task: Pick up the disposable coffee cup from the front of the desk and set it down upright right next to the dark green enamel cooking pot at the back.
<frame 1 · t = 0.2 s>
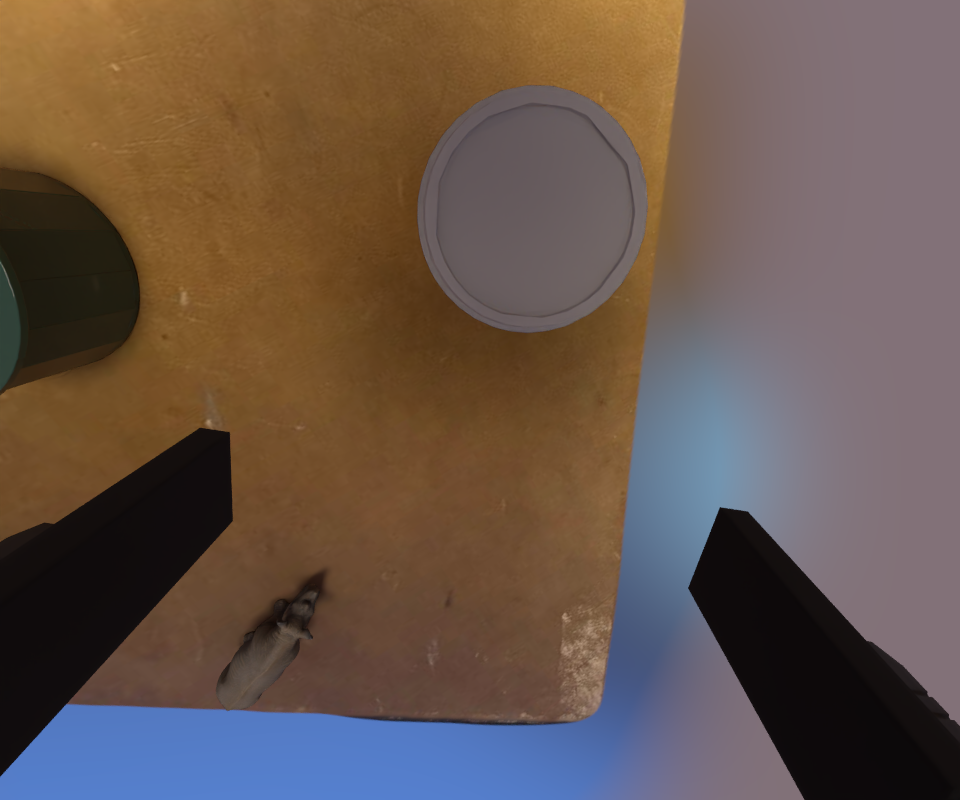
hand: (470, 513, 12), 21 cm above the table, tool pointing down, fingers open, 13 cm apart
disposable coffee cup: (517, 224, 29), on the table
pot: (45, 273, 31), on the table
rhino figurine: (291, 613, 41), on the table
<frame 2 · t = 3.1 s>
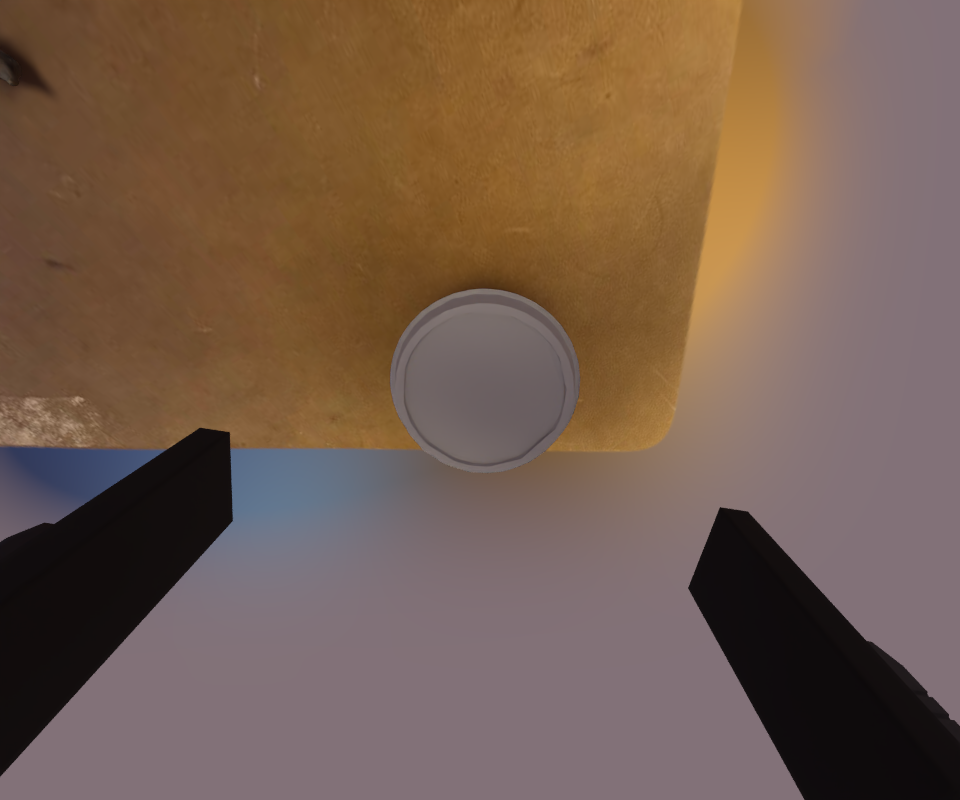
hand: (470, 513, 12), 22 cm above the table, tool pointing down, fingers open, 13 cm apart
disposable coffee cup: (487, 338, 33), on the table
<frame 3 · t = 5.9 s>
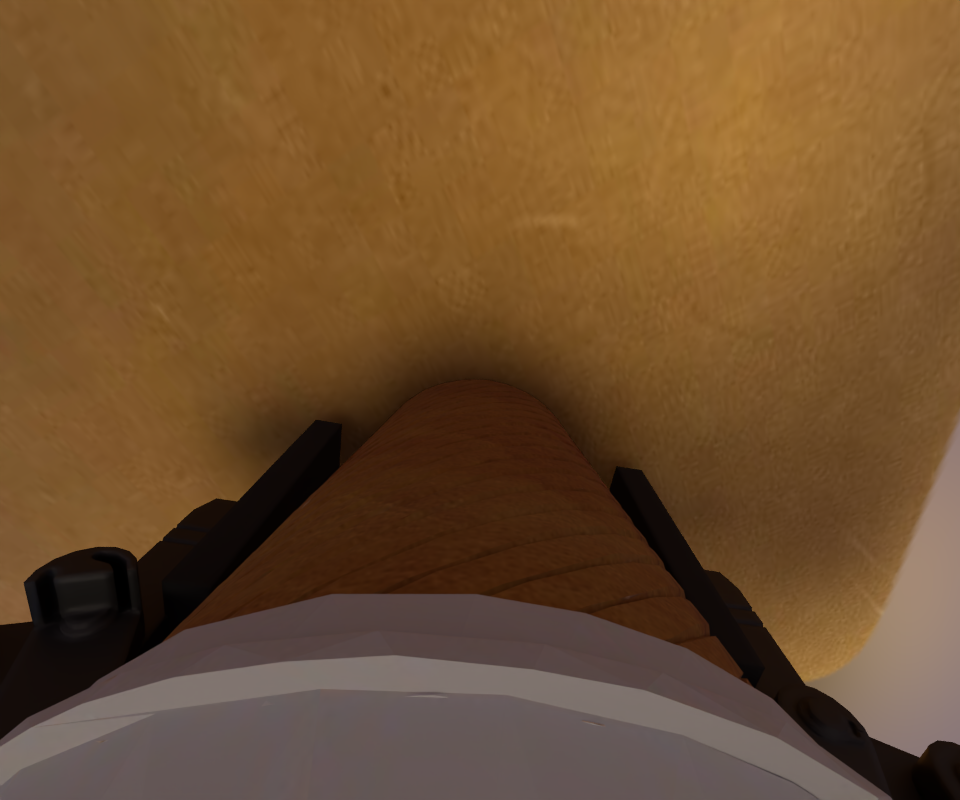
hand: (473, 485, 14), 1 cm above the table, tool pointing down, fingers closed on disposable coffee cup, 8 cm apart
disposable coffee cup: (474, 470, 15), on the table, touching gripper
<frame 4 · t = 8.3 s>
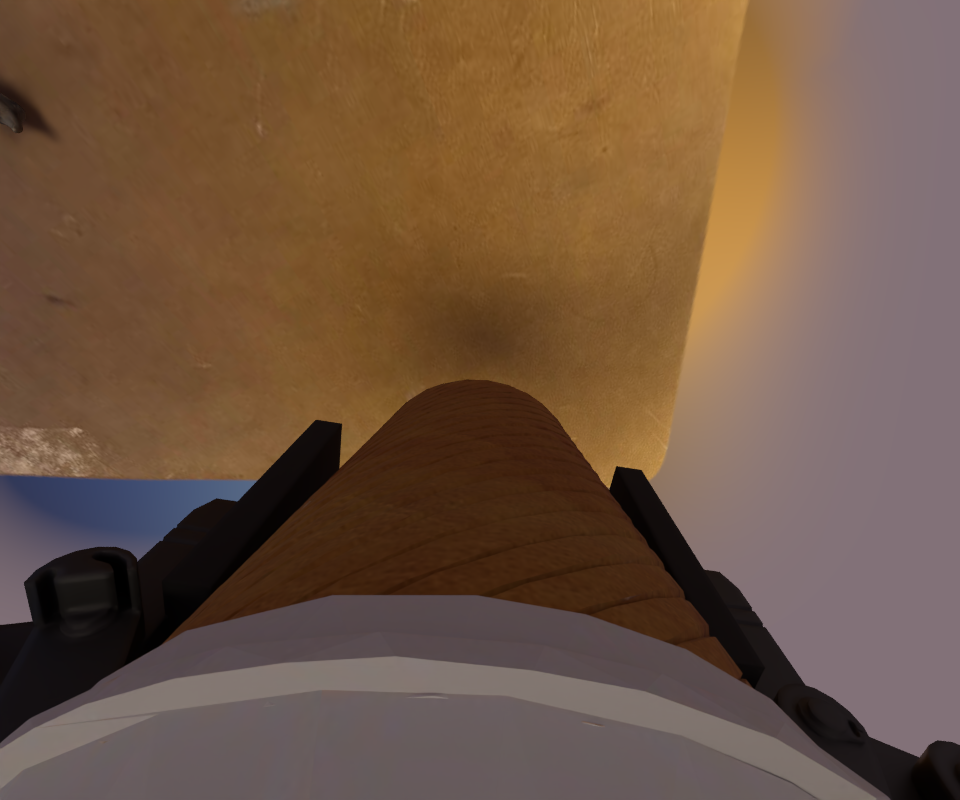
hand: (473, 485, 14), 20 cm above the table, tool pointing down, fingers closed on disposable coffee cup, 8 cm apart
disposable coffee cup: (474, 470, 15), point 19 cm above the table, touching gripper
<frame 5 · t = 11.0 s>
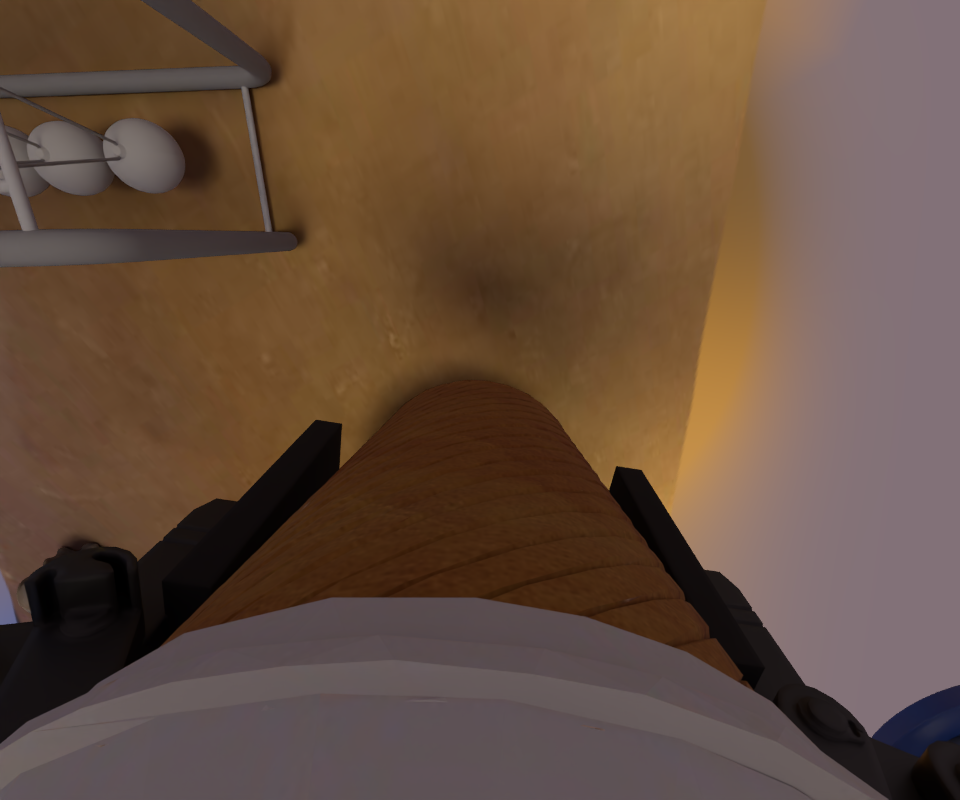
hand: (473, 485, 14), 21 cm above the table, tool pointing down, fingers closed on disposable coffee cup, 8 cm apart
newton's cradle: (74, 171, 30), on the table
disposable coffee cup: (474, 471, 15), point 20 cm above the table, touching gripper
rhino figurine: (138, 582, 42), on the table
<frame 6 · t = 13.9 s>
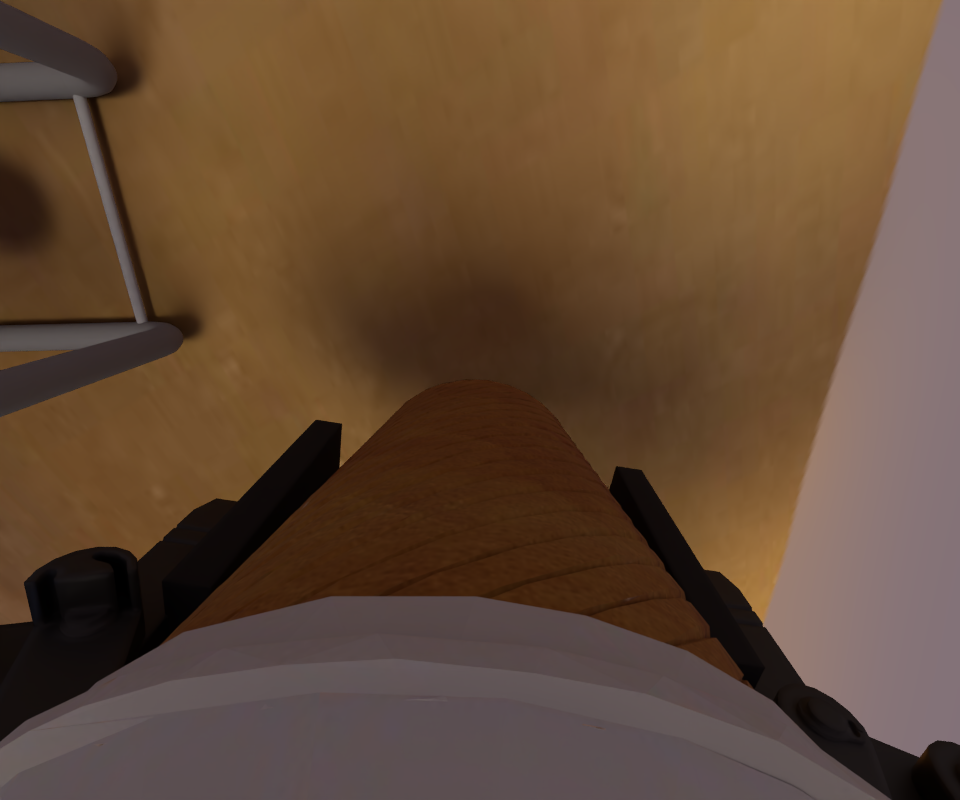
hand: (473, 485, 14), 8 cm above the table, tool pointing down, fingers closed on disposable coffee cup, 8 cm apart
disposable coffee cup: (474, 470, 15), point 7 cm above the table, touching gripper
when the fingers open (1 cm above the table, at t = 16.0 s): disposable coffee cup stays where it is, on the table.
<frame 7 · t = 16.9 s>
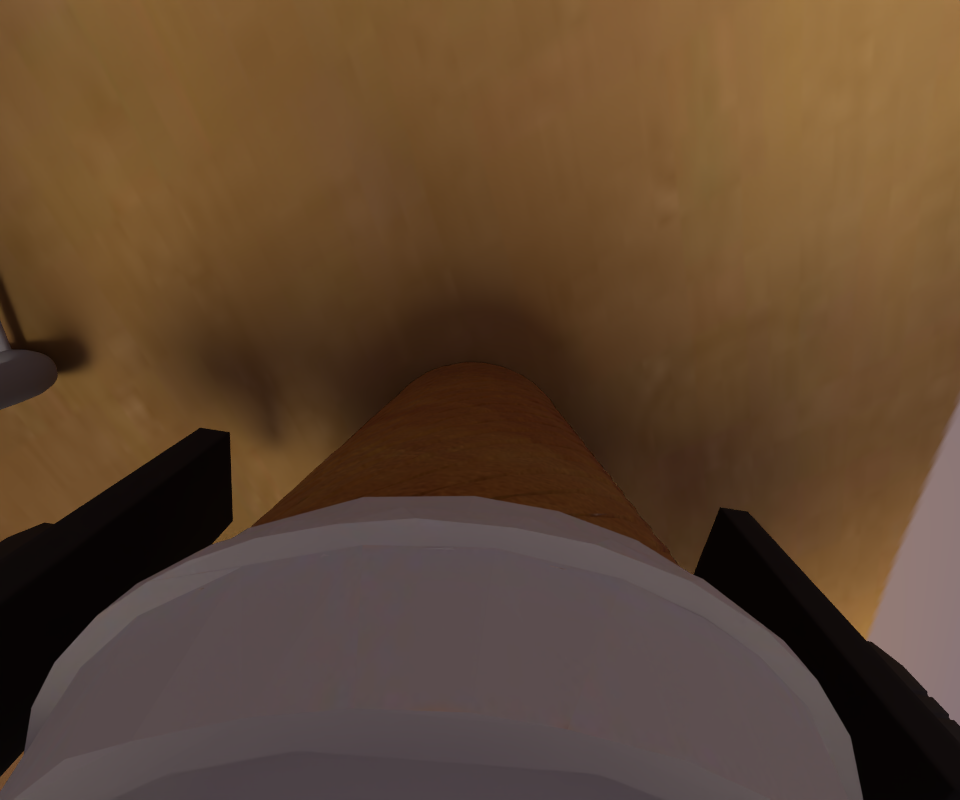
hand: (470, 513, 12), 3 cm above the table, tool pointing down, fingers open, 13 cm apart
disposable coffee cup: (473, 448, 16), on the table
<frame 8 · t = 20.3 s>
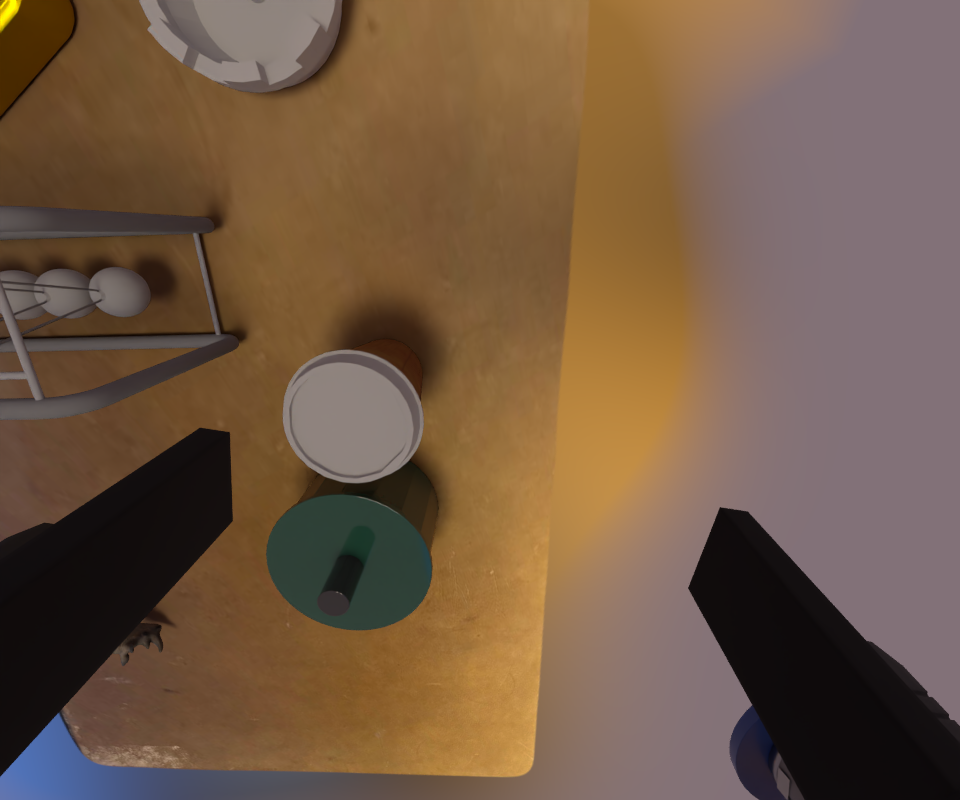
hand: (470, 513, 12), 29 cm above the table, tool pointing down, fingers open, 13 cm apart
pot lid: (350, 562, 38), point 8 cm above the table, touching pot
newton's cradle: (69, 288, 40), on the table
disposable coffee cup: (388, 372, 41), on the table
pot: (375, 505, 46), on the table
rhino figurine: (124, 597, 51), on the table
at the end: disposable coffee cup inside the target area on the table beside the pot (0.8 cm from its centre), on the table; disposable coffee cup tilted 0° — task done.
